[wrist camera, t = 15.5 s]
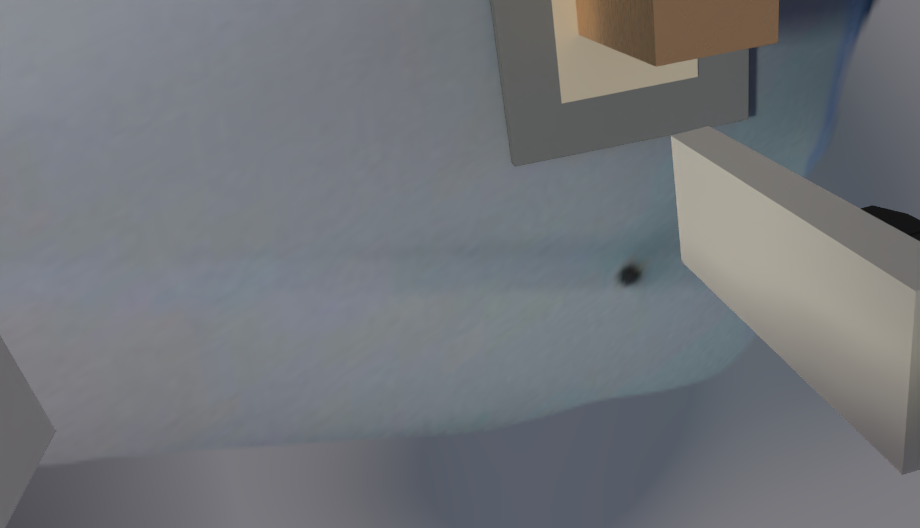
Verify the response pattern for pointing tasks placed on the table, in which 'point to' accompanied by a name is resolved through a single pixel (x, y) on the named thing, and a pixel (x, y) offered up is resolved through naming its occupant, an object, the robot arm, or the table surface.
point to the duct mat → (600, 86)
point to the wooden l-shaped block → (678, 27)
